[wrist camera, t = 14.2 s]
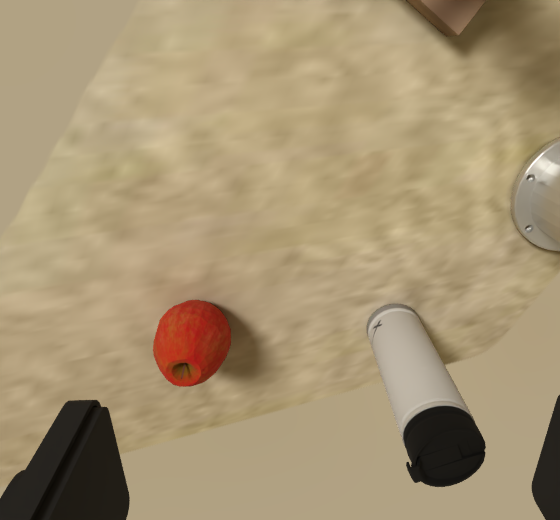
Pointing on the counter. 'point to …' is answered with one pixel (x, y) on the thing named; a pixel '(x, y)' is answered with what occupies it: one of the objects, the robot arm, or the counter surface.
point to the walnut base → (448, 13)
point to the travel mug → (424, 400)
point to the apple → (191, 342)
